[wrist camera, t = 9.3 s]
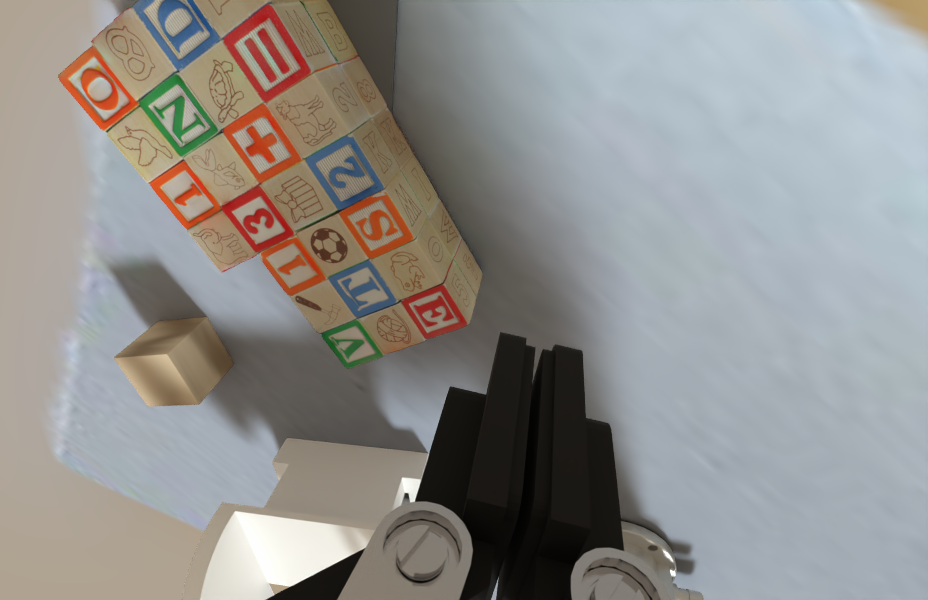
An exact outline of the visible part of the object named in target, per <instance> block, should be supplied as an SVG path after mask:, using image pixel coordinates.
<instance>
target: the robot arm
mask: <svg viewBox="0 0 928 600" xmlns="http://www.w3.org/2000/svg"><path fill="white" fill-rule="evenodd" d="M534 357H535V347H532V346H527V345H526V338H524V337H519V336H515V335H510V334H506V333H501V332H500V336H499V341H498V345H497V349H496V354H495V358H494V363H493V367H492V371H491V376H490V380H489V384H488V389H487V393H486V395H485V394H481V393H476V392H472V391H468V390H463V389H459V388H455V387H451V386H450V388H449V391H448V394H447V397H446V400H445V404H444V407H443V410H442V414H441V417H440V420H439V423H438V427H437V430H436V433H435V437H434V440H433V443H432V446H431V450H430V453H429V456H428V459H427V463H426V466H425V469H424V473H423V476H422V479H421V482H420V486H419V489H418V492H417V495H416V499H415V502H411V503H408V504H405V505H402V506H399V507H397V508H396V509H394V510H393V511H391V512H390V513H388V514H387V515H386V516H385V517H384V519H383V520H382V521H381V522H380V524H379V525H378V526H377V528H376V530H375V532H374V533H373V535H372V537H371V539H370V541H369V543H368V544H367V546H366V548H364V549H362V550H360V551H358V552H356V553H354V554H352V555H350V556H349V557H347V558H345V559H343V560H341V561H339V562H337V563H335V564H333V565H331V566H329V567H327V568H325V569H324V570H322V571H320V572H318V573H316V574H314V575H312V576H310V577H308V578H306V579H304V580H302V581H300V582H299V583H297V584H295V585H293V586H291V587H289V588H287V589H285V590H283V591H281V592H279V593H277V594H275V595H274V596H272V597H270V598H268V599H266V600H491V598H492V595H493V592H494V589H495V586H496V583H497V580H498V577H499V580H498V588H497V597H496V600H704V599H703V595H702V593H700V592H697V591H693V590H689V589H686V590H685V589H681V588H677V585H676V584H674V583H672V582H673V581H674V579H675V576H676V569H677V567H676V562H675V557H674V554H673V552H672V550H671V548H670V547H669V545H668V544H667V543H666V542H665V541H664V540H663V539H662V538H660V537H659V536H658V535H656V534H655V533H653V532H651V531H649V530H647V529H645V528H643V527H641V526H638V525H635V524H632V523H628V522H624V521H621V516H620V507H619V498H618V488H617V479H616V470H615V460H614V451H613V442H612V433H611V428H610V425H609V424H608V423H605V422H601V421H596V420H592V419H588V418H586V413H585V392H584V372H583V354H582V351H581V350H577V349H573V348H568V347H564V346H560V345H554V347H553V349H552V351H549V350H545V349H543V350H542V353H541V356H540V360H539V363H538V367H537V370H536V373H535V377H534V380H533V368H534ZM532 380H533V384H532Z"/></svg>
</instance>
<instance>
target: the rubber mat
mask: <svg viewBox="0 0 928 600" xmlns="http://www.w3.org/2000/svg"><path fill="white" fill-rule="evenodd" d="M327 1H328V3H329V4H330V6H331V7H332V9H333V11H334V13H335V14H336V16H337V18H338V20H339V22H340V23H341V25H342V27H343V29H344V30H345V32H346V34H347V36H348V37H349V39H350V41H351V42H352V44H353V46H354V48H355V49H356V52H357V54H358V56H359V57H360V59H361V60H362V62H363V64H364V65H365V67H366V69H367V71H368V72H369V74H370V76H371V78H372V79H373V81H374V83H375V85H376V86H377V88H378V90H379V92H380V93H381V95H382V97H383V99H384V100H385V102H386V104H387V108H388V109H389V111H390V112H391V114H392V104H393V86H394V68H395V50H396V32H397V14H398V0H327Z"/></svg>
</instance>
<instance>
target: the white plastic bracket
mask: <svg viewBox="0 0 928 600" xmlns="http://www.w3.org/2000/svg"><path fill="white" fill-rule="evenodd" d="M428 456H429V454H428V453H422V452H413V451H404V450H394V449H385V448H376V447H367V446H358V445H348V444H339V443H330V442H321V441H312V440H302V439H293V438H286V440H285V442H284V443H283V445H282V447H281V448H280V450H279V452H278V453H277V455H276V456H275V458H274V460H273V461H272V463H273V466H274V468H275V471H276V474H277V476H278V479H279V482H278V484H277V486H276V488H275V489H274V491H273V493H272V495H271V496H270V498H269V500H268V502H267V503H266V505H265V507H264V508H260V507H253V506H245V505H238V504H230V503H223V502H222V504H221V505H220V507H219V508H218V510H217V511H216V513H215V515H214V516H213V518H212V519H211V521H210V523H209V524H208V526H207V528H206V530H205V532H204V533H203V535H202V538H201V540H200V542H199V544H198V546H197V549H196V551H195V553H194V556H193V559H192V561H191V564H190V567H189V571H188V574H187V577H186V581H185V585H184V590H183V595H182V600H266V599H268V598H270V597H272V596H274V594H273V592H272V590H271V587H270V585H269V583H272V584H278V585H284V586H290V587H291V586H293V585H295V584H297V583H299V582H300V581H302V580H304V579H306V578H308V577H310V576H312V575H314V574H316V573H318V572H320V571H322V570H324V569H325V568H327V567H329V566H331V565H333V564H335V563H337V562H339V561H341V560H343V559H345V558H347V557H349V556H350V555H352V554H354V553H356V552H358V551H360V550H362V549H364V548H366V546H367V544H368V543H369V541H370V539H371V537H372V535H373V533H374V532H375V530H376V528H377V526H378V525H379V524H380V522H381V521H382V520H383V519H384V517H385V516H386V515H387V514H388V513H390V512H391V511H393V510H394V509H396V508H397V507H399V506H402V505H405V504H408V503H411V502H415V499H416V495H417V492H418V489H419V486H420V482H421V479H422V476H423V473H424V469H425V466H426V463H427V459H428Z"/></svg>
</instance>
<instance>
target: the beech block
mask: <svg viewBox="0 0 928 600" xmlns="http://www.w3.org/2000/svg"><path fill="white" fill-rule="evenodd" d="M114 359H115V361H116V362H117V364H118V365H119V366H120V368H121V369H122V371H123V372H124V373H125V375H126V376H127V378H128V379H129V380H130V382H131V383H132V385H133V386H134V387H135V389H136V390H137V392H138V393H139V394H140V396H141V397H142V399H143V400H144V402H145V403H146V404H147V406H172V405H197V404H200V403H201V402H202V401H203V400H204V398H205V397H206V396H207V395H208V394H209V393H210V391H211V390H212V389H213V388H214V387H215V386H216V385H217V383H218V382H219V381H220V380H221V379H222V378H223V376H224V375H225V374H226V373H227V372H228V371H229V370H230V368H231V367H232V366H233V365H234V363H233V362H232V360H231V358H230V356H229V354H228V353H227V351H226V349H225V347H224V346H223V344H222V342H221V340H220V338H219V337H218V335H217V333H216V331H215V329H214V328H213V326H212V324H211V322H210V321H209V319H208V317H199V318H189V319H178V320H167V321H158V322H156V323H155V324H154V325H153V326H152V327H150V328H149V329H148V330H147V331H146V332H144V333H143V334H142V335H141V336H140V337H138V338H137V339H136V340H135V341H134V342H132V343H131V344H130V345H129V346H127V347H126V348H125V349H124V350H123V351H121V352H120V353H119V354H118V355H117V356H115V357H114Z"/></svg>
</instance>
